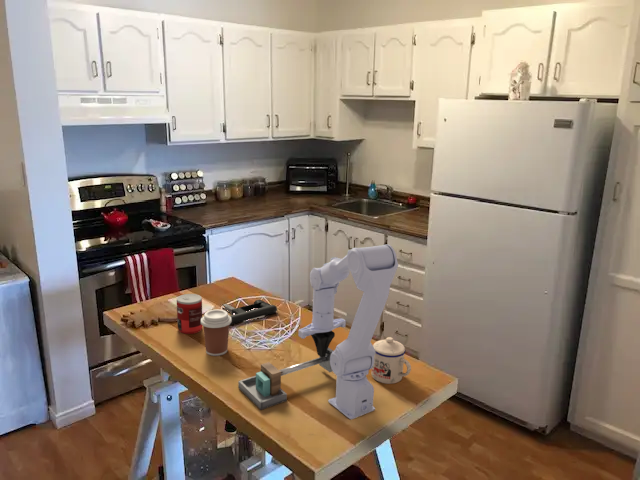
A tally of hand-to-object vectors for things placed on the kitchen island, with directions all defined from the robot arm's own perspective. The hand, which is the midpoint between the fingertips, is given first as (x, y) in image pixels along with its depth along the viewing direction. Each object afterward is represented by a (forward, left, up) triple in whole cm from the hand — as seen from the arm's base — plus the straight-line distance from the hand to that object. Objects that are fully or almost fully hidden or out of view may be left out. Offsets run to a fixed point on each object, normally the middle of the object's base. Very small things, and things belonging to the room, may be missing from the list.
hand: (321, 355), depth 146 cm
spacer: (0, +18, -5) cm, 19 cm away
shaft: (0, +6, -4) cm, 8 cm away
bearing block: (0, +16, -6) cm, 18 cm away
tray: (0, +19, -6) cm, 20 cm away
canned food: (+46, +19, -6) cm, 50 cm away
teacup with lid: (-12, -16, -6) cm, 21 cm away
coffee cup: (+28, +18, -6) cm, 34 cm away
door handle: (+49, -2, -6) cm, 49 cm away
